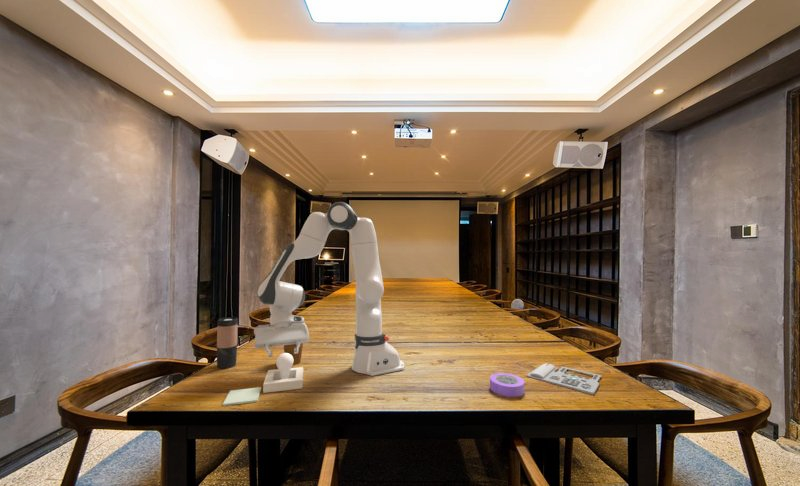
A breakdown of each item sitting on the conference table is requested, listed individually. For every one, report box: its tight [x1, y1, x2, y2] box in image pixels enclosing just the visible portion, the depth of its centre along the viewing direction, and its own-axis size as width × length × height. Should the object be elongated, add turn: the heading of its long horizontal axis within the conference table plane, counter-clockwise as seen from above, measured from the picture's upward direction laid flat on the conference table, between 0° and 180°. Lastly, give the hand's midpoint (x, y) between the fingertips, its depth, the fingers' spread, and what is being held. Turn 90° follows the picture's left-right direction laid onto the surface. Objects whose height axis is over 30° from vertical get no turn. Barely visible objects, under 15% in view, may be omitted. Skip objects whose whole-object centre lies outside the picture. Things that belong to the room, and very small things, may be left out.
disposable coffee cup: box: [283, 343, 304, 366], centre depth 137 cm, size 10×10×12 cm
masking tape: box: [489, 372, 525, 398], centre depth 111 cm, size 12×12×4 cm
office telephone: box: [526, 362, 603, 396], centre depth 122 cm, size 23×3×20 cm
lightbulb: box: [275, 352, 294, 379], centre depth 115 cm, size 6×6×11 cm
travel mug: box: [216, 316, 239, 370], centre depth 132 cm, size 8×8×20 cm
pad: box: [222, 386, 263, 407], centre depth 104 cm, size 10×10×1 cm
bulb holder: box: [262, 366, 304, 394], centre depth 115 cm, size 13×13×3 cm
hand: (283, 354), depth 119 cm, fingers open, 8 cm apart
